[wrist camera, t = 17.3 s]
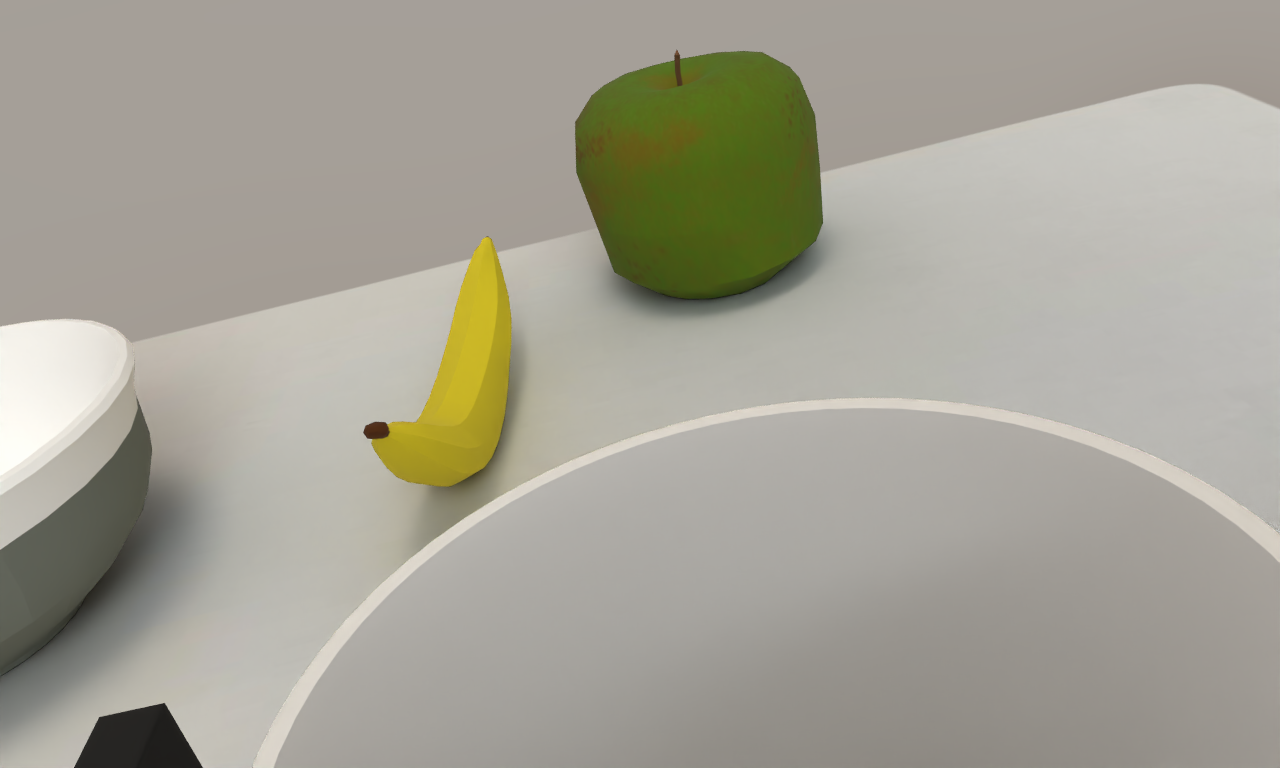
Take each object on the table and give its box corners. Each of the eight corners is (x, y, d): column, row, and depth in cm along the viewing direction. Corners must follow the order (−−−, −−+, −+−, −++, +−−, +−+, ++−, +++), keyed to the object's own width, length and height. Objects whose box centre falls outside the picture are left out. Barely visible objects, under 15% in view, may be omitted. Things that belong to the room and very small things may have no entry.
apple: (849, 214, 58) (818, -1, 53) (811, 314, 49) (770, 68, 44) (646, 232, 62) (600, 34, 57) (579, 327, 54) (516, 104, 48)
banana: (544, 323, 55) (508, 201, 52) (475, 577, 38) (415, 419, 35) (487, 334, 55) (448, 214, 52) (394, 589, 39) (328, 435, 36)
